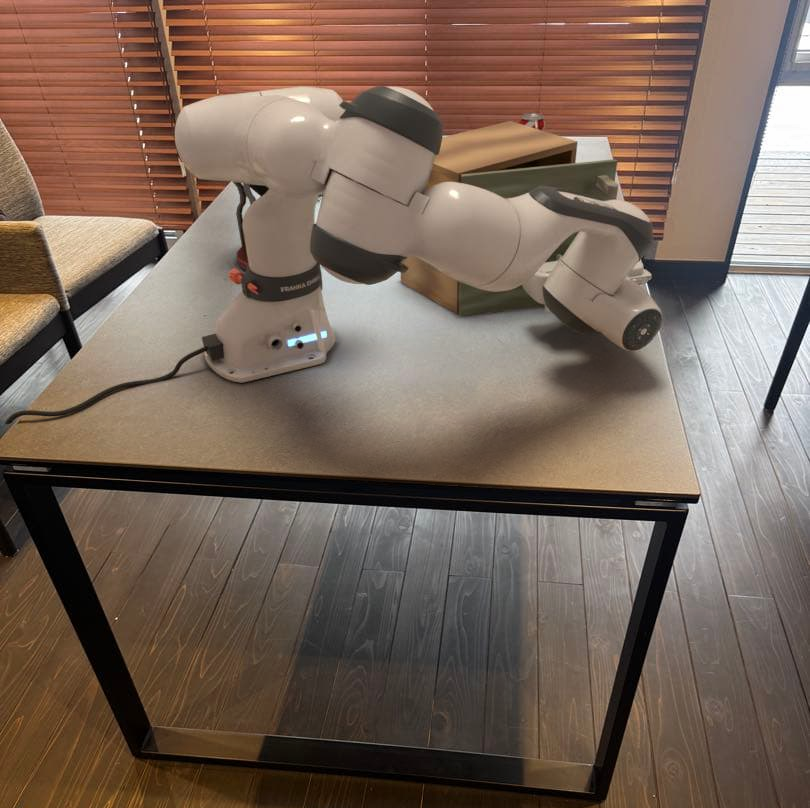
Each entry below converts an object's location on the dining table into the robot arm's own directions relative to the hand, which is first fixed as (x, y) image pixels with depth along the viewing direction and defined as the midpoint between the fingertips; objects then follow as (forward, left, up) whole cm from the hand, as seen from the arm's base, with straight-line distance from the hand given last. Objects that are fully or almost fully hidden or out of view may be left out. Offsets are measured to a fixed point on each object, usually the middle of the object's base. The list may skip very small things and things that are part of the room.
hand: (564, 257), depth 139 cm
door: (-6, 0, -9) cm, 11 cm away
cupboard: (-4, +18, -9) cm, 20 cm away
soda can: (+49, +64, -9) cm, 81 cm away
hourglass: (-31, +53, -9) cm, 62 cm away
